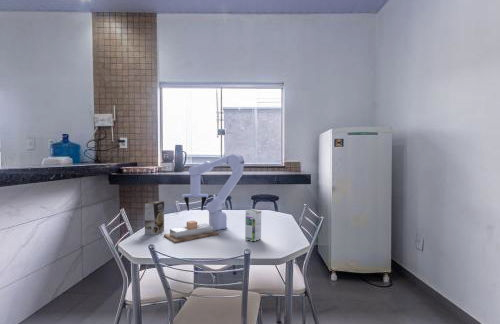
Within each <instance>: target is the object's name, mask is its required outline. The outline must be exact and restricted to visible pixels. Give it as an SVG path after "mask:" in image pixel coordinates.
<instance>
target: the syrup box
mask: <svg viewBox="0 0 500 324" xmlns="http://www.w3.org/2000/svg"><path fill="white" fill-rule="evenodd" d="M244 221H245V227H244V229H245V230H244V231H245V235H244V236H245V238H244V240H245V241H248V240H250V241H249V242H252V241H256V240H259V239H261V240H262V210H260V209H253V208H249V209H245V220H244ZM259 241H260V240H259ZM256 242H257V241H256Z"/></svg>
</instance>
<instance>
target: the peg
mask: <svg viewBox="0 0 500 324" xmlns="http://www.w3.org/2000/svg"><path fill="white" fill-rule="evenodd" d="M197 225H198V221H196V220H190V221H186V227H187V229H189V230H190V229H196V228H197Z"/></svg>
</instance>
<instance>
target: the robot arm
mask: <svg viewBox="0 0 500 324" xmlns="http://www.w3.org/2000/svg"><path fill="white" fill-rule="evenodd" d="M224 164H225V165H228V166H229V167H230V168H231V169H230V170H231V172H232V173H231V174H230V176H229V177H228V179H227V180H226V182H225V184H224V185H223V187H222V188H221V189H220V191H219V192H218V194H217V195H216V196H215V197H214V198H213V199H212V200H211V201H210V202H208V203H207V206H206V209H207V211H208V225H211V226H213V230H214V231H219V230H224V229H227V228H228V227H227V221H228V218H227V214H226V212H225V211H223V209H224V206H225V203H226V199H227V198H228V197H229V196H230V194H231V192H232V191H233V190H234V188H235V186H236V185H237V184H238V183H239V181H240V179H241V177H242V176H243V175H244V168H245V167H244V166H245V159H244V157H243V156H242V155H241V154H234V153H233V154H229V155H226V156H225V155H224V156H222V157H220V158H218V159H216V160H213V161H209V160H204V161H203V162H202V163H196V165H192V166H190V167H189V168H188V173H189V176H190V177H189V178H190V180H189V181H190V183H189V184H190V190H189V191H190V192H189V193H184V194H181V196H182V197H181V198H182V199H183V201H184V202H185V205H186V208H187V211H188V212H189V211H190V204H189V203H190V201H189V199H195V198H197V199H200V198H201V205H200V206H201V209H200V210H201V211H203V209H204V205H205V203H206V200H207V198H209V194H208V193H201V182H202V180H201V177H202V175H204V174H206V173H208V172H211V171H213V168H216V167H218V166H222V165H224Z"/></svg>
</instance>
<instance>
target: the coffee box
mask: <svg viewBox="0 0 500 324" xmlns="http://www.w3.org/2000/svg"><path fill="white" fill-rule="evenodd" d="M164 231H165V201H164V200H161V201H160V200H159V201H157V200H156V201H150V202H146V203H145V204H144V235H148V236H149V235H151V236H156V235H158V234H161V233H162V232H164Z"/></svg>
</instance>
